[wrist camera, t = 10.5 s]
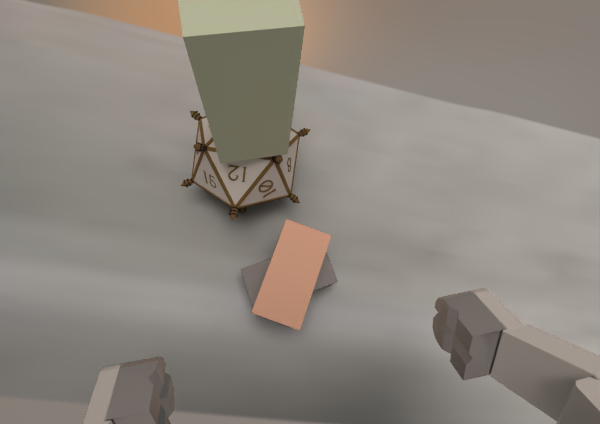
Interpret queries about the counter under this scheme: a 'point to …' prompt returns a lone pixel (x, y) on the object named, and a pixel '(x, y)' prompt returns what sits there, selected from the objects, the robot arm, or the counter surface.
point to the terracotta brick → (292, 275)
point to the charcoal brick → (258, 271)
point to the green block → (245, 71)
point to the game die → (242, 172)
